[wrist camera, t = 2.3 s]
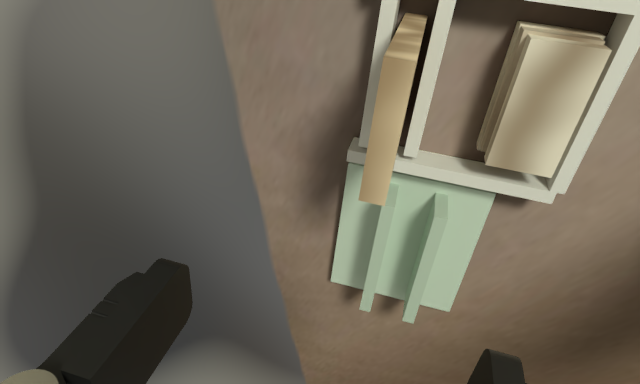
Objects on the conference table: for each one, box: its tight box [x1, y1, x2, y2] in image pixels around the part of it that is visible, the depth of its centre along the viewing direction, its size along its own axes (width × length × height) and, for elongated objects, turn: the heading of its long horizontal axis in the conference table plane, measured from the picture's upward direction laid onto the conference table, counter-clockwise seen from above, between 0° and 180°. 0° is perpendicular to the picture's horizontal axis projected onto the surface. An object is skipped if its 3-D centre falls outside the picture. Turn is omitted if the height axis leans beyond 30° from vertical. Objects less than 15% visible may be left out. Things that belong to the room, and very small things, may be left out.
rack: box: [346, 0, 640, 204], centre depth 29 cm, size 16×14×2 cm
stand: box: [331, 162, 496, 324], centre depth 37 cm, size 12×14×4 cm
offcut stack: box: [476, 21, 612, 178], centre depth 28 cm, size 5×9×4 cm, turn 175°
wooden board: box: [358, 13, 427, 206], centre depth 26 cm, size 2×8×12 cm, turn 174°
